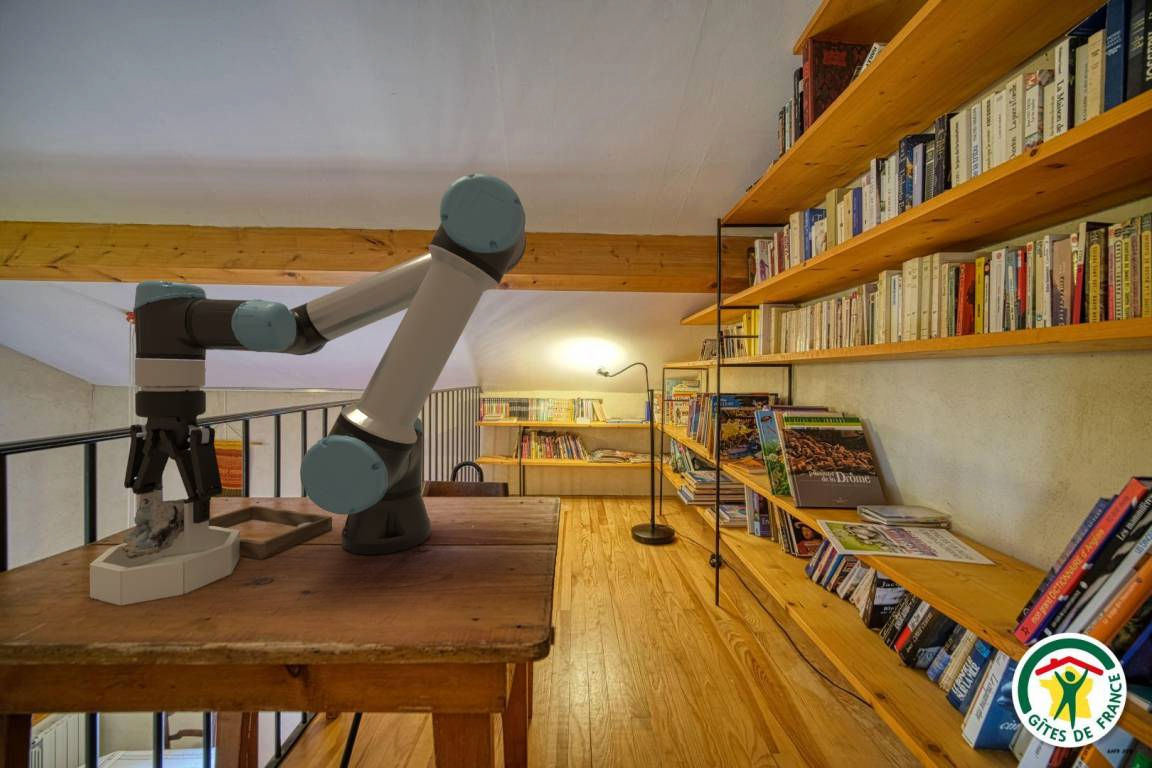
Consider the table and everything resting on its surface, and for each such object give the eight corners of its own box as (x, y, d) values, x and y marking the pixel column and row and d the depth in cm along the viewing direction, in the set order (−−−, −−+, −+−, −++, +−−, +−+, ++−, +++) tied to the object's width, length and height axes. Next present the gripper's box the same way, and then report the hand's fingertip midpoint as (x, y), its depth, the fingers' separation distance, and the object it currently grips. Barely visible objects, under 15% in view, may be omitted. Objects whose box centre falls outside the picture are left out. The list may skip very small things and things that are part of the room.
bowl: (260, 561, 68) (260, 533, 68) (144, 611, 54) (143, 576, 54) (193, 548, 72) (193, 522, 72) (68, 592, 58) (68, 559, 58)
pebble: (319, 531, 82) (319, 523, 82) (306, 537, 79) (306, 528, 79) (306, 529, 82) (306, 521, 82) (293, 535, 79) (293, 527, 79)
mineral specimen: (142, 578, 62) (215, 555, 63) (87, 563, 55) (169, 538, 57) (161, 517, 67) (227, 497, 69) (113, 497, 61) (187, 475, 62)
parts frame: (331, 529, 82) (332, 516, 82) (261, 559, 69) (261, 544, 69) (253, 517, 88) (253, 505, 88) (173, 543, 74) (173, 529, 74)
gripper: (253, 390, 63) (253, 539, 64) (151, 385, 69) (152, 522, 69) (196, 392, 56) (197, 560, 56) (88, 387, 62) (90, 539, 62)
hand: (172, 539), depth 63 cm, fingers closed on mineral specimen, 9 cm apart
